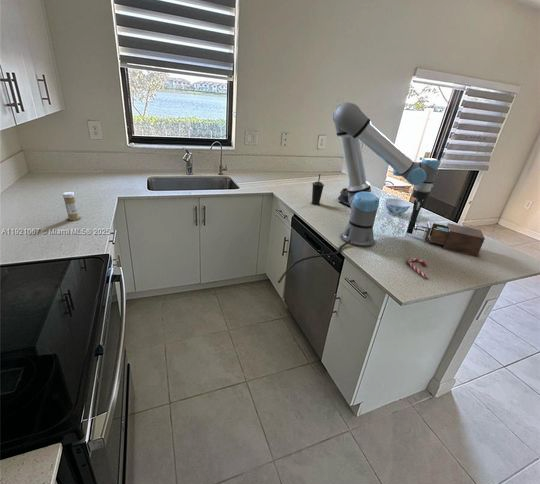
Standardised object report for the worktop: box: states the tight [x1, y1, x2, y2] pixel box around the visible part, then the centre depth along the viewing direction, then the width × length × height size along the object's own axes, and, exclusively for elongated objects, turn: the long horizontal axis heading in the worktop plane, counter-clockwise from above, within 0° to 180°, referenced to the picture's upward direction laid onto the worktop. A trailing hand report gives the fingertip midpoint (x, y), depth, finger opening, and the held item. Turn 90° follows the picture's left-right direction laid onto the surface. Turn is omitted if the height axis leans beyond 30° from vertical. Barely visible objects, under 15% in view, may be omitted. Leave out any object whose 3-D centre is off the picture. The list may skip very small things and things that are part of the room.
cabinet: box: [442, 222, 486, 257], centre depth 144 cm, size 15×12×10 cm
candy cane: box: [407, 257, 428, 279], centre depth 123 cm, size 8×1×15 cm
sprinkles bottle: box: [62, 191, 80, 221], centre depth 141 cm, size 5×5×13 cm
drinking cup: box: [311, 173, 325, 206], centre depth 188 cm, size 8×8×20 cm
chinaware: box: [384, 198, 411, 217], centre depth 184 cm, size 15×15×8 cm
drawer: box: [413, 220, 449, 246], centre depth 149 cm, size 19×10×8 cm, turn 64°
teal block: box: [436, 226, 449, 232], centre depth 147 cm, size 4×6×6 cm
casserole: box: [337, 187, 350, 207], centre depth 198 cm, size 25×19×8 cm
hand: (409, 232), depth 154 cm, fingers closed
